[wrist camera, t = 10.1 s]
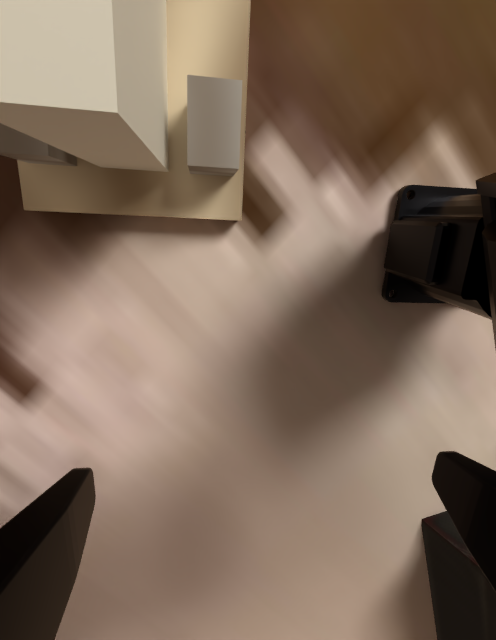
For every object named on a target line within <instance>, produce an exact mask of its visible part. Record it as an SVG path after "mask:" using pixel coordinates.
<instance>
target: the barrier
mask: <svg viewBox="0 0 496 640" xmlns="http://www.w3.org/2000/svg"><path fill="white" fill-rule="evenodd" d="M422 532H423V539H424V546H425V553H426V560H427V568H428V575H429V582H430V589H431V596H432V604H433V611H434V618H435V625H436V632H437V640H496V592H495V590H494V589H493V587H492V586H491V584H490V583H489V581H488V579H487V578H486V576H485V575H484V573H483V572H482V570H481V569H480V567H479V565H478V564H477V562H476V561H475V559H474V558H473V556H472V555H471V553H470V551H469V550H468V548H467V546H466V545H465V543H464V541H463V540H462V538H461V536H460V534H459V533H458V531H457V529H456V527H455V525H454V523H453V521H452V519H451V518H450V516H449V514H448V512H447V511H445V512H442V513H439V514H436V515H433V516H430V517H427V518H424V519H422Z"/></svg>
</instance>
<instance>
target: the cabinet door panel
mask: <svg viewBox="0 0 496 640" xmlns="http://www.w3.org/2000/svg"><path fill="white" fill-rule="evenodd" d="M0 123H1V124H4V125H6V126H8V127H10V128H13V129H15V130H17V131H19V132H22V133H24V134H26V135H29V136H31V137H33V138H35V139H38V140H40V141H42V142H45V143H47V144H49V145H51V146H54V147H56V148H58V149H60V150H63V151H65V152H67V153H70V154H72V155H74V156H76V157H79V158H81V159H83V160H85V161H88V162H90V163H92V164H95V165H97V166H99V167H103V168H118V169H132V170H146V171H161V172H169V156H168V87H167V18H166V0H0Z"/></svg>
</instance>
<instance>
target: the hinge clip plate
mask: <svg viewBox="0 0 496 640" xmlns="http://www.w3.org/2000/svg"><path fill="white" fill-rule="evenodd" d="M250 1H251V0H166V18H167V87H168V156H169V172H161V171H146V170H132V169H118V168H103V167H99V166H97V165H95V164H92V163H90V162H88V161H85V160H83V159H81V158H79V157H76V156H74V155H72V154H70V153H67V152H65V151H63V150H60V149H58V148H56V147H54V146H51V145H49V144H47V143H45V142H42V141H40V140H38V139H35V138H33V137H31V136H29V135H26V134H24V133H22V132H19V131H17V130H15V129H13V128H10V127H8V126H6V125H4V124H1V123H0V155H2V156H6V157H9V158H13V159H16V160H17V163H18V171H19V178H20V185H21V192H22V199H23V207H24V210H31V211H52V212H72V213H93V214H114V215H135V216H156V217H176V218H197V219H218V220H239V221H241V220H242V196H243V172H244V147H245V123H246V99H247V74H248V50H249V25H250Z"/></svg>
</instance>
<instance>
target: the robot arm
mask: <svg viewBox="0 0 496 640" xmlns="http://www.w3.org/2000/svg"><path fill="white" fill-rule="evenodd" d="M476 186H477V189H467V188H452V187H437V186H422V185H408V186H404V187H403V188H401V190H400V191H399V194H398V200H397V205H396V211H395V217H394V222H393V223H392V224H391V228H390V234H389V240H388V246H387V252H386V258H385V264H384V268H385V269H386V271H385V277H384V283H383V289H382V297H383V298H384V299H385V300H387V301H389V302H405V303H448V304H451V305H454V306H457V307H459V308H462V309H465V310H467V311H470V312H473V313H475V314H478V315H481V316H483V317H486V318H489V319H491V320H492V323H493V332H494V340H495V349H496V173H493V174H491V175H488V176H485V177H483V178H480V179H478V180H476ZM408 191H410V192H411V197H410V198H409V199H408V198H407V195H406V194H407V192H408ZM392 290H394V293H393V295H392V296H389V293H390V291H392ZM432 482H433V485H434V488H435V489H436V491H437V493H438V495H439V497H440V499H441V501H442V503H443V504H444V506H445V508H446V510H447V512H448V514H449V516H450V518H451V519H452V521H453V523H454V525H455V527H456V529H457V531H458V533H459V534H460V536H461V538H462V540H463V541H464V543H465V545H466V546H467V548H468V550H469V551H470V553H471V555H472V556H473V558H474V559H475V561H476V562H477V564H478V565H479V567H480V569H481V570H482V572H483V573H484V575H485V576H486V578H487V579H488V581H489V583H490V584H491V586H492V587H493V589H494V590H495V592H496V471H494V470H492V469H490V468H488V467H486V466H484V465H482V464H480V463H478V462H476V461H474V460H472V459H470V458H468V457H466V456H464V455H461V454H459V453H457V452H454V451H444V452H440V453H439V454H438V455H437V457H436V461H435V465H434V469H433V473H432ZM94 505H95V486H94V477H93V471H92V469H91V468H75V469H72V470H71V471H69V472H68V473H67V474H66V475H65V476H63V477H62V478H61V479H60V480H59V481H57V482H56V483H55V484H54V485H52V486H51V487H50V488H49V489H48V490H46V491H45V492H44V493H43V494H42V495H40V496H39V497H38V498H37V499H35V500H34V501H33V502H32V503H31V504H29V505H28V506H27V507H26V508H25V509H23V510H22V511H21V512H20V513H18V514H17V515H16V516H15V517H14V518H12V519H11V520H10V521H9V522H7V523H6V524H5V525H4V526H3V527H1V528H0V640H54V639H55V636H56V634H57V631H58V628H59V625H60V622H61V620H62V617H63V614H64V611H65V608H66V606H67V603H68V600H69V597H70V594H71V592H72V589H73V586H74V583H75V580H76V577H77V573H78V569H79V566H80V562H81V558H82V554H83V550H84V546H85V542H86V538H87V534H88V530H89V526H90V522H91V518H92V514H93V510H94Z"/></svg>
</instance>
